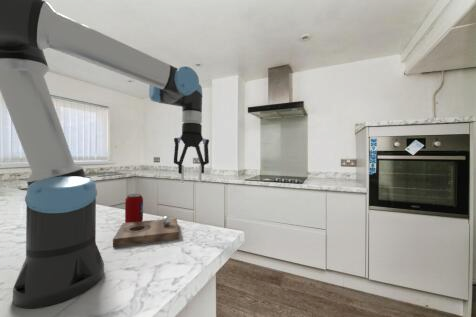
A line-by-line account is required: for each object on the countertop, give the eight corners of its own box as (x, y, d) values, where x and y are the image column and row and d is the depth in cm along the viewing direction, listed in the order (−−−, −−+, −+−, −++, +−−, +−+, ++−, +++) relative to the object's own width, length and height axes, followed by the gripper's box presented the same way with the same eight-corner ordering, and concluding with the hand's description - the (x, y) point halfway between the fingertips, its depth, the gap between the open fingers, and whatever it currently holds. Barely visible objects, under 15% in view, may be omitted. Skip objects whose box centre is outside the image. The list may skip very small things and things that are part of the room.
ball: (171, 226, 75) (171, 217, 75) (161, 227, 73) (161, 218, 73) (171, 223, 78) (171, 214, 78) (161, 224, 77) (161, 215, 77)
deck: (176, 224, 85) (176, 218, 85) (178, 238, 70) (178, 231, 70) (122, 229, 78) (122, 222, 78) (112, 246, 63) (112, 239, 63)
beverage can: (146, 222, 86) (146, 194, 86) (130, 226, 81) (130, 197, 81) (137, 219, 90) (137, 193, 90) (121, 223, 84) (122, 195, 84)
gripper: (213, 126, 85) (212, 180, 86) (166, 123, 79) (165, 181, 79) (217, 123, 78) (217, 182, 78) (166, 119, 72) (165, 183, 72)
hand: (191, 181), depth 79 cm, fingers open, 6 cm apart
